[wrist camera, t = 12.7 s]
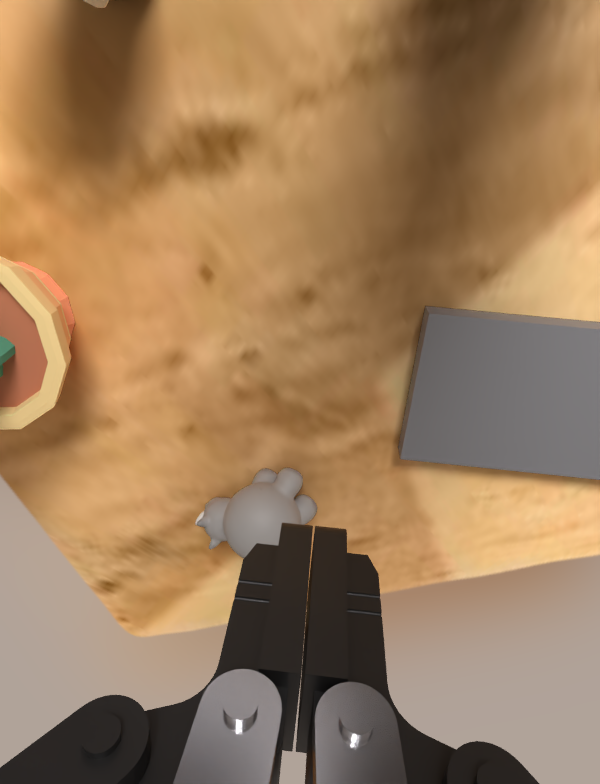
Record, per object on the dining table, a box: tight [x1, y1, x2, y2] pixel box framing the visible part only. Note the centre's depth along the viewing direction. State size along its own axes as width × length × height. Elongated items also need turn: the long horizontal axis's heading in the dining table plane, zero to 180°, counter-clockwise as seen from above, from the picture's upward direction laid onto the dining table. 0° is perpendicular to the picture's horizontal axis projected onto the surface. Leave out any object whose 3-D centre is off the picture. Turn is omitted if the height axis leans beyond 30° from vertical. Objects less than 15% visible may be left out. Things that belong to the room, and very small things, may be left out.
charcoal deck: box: [398, 306, 600, 480], centre depth 43 cm, size 14×20×2 cm
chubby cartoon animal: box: [195, 468, 317, 558], centre depth 48 cm, size 7×12×8 cm, turn 109°
